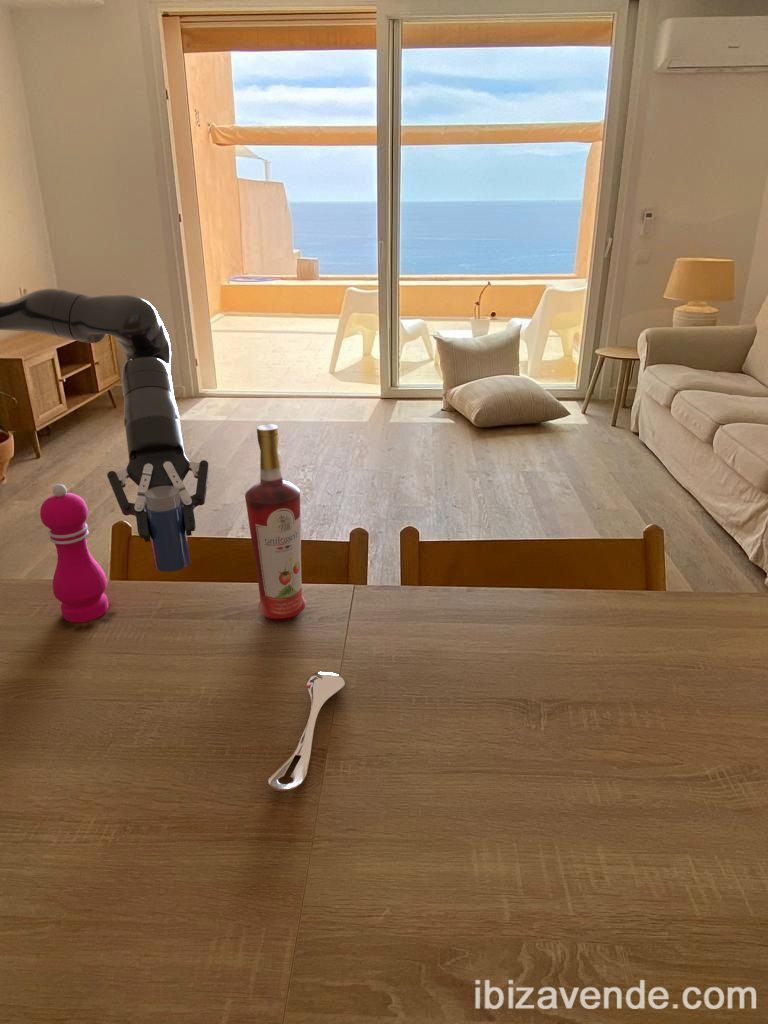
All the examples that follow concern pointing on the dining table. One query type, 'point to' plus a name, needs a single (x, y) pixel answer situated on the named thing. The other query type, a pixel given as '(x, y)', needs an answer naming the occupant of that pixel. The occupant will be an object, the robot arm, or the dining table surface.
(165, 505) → the cylinder
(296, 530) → the liquor
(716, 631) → the dining table surface
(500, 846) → the dining table surface
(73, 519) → the pepper mill
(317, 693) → the ice cream scoop
